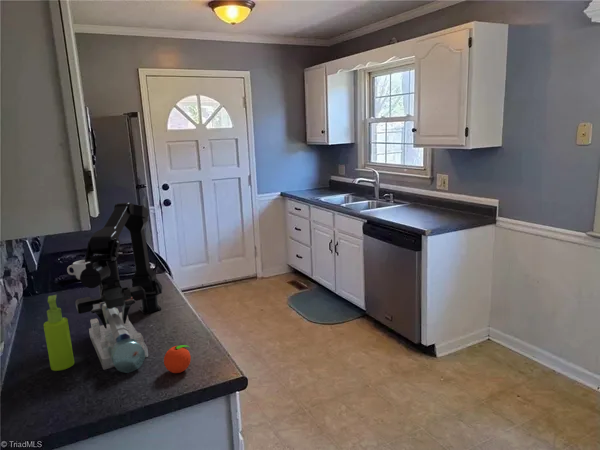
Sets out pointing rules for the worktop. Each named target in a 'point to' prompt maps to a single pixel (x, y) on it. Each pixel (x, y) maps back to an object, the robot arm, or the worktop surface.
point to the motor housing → (118, 347)
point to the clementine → (177, 359)
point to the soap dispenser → (58, 338)
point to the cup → (77, 268)
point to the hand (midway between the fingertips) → (115, 325)
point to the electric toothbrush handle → (115, 324)
